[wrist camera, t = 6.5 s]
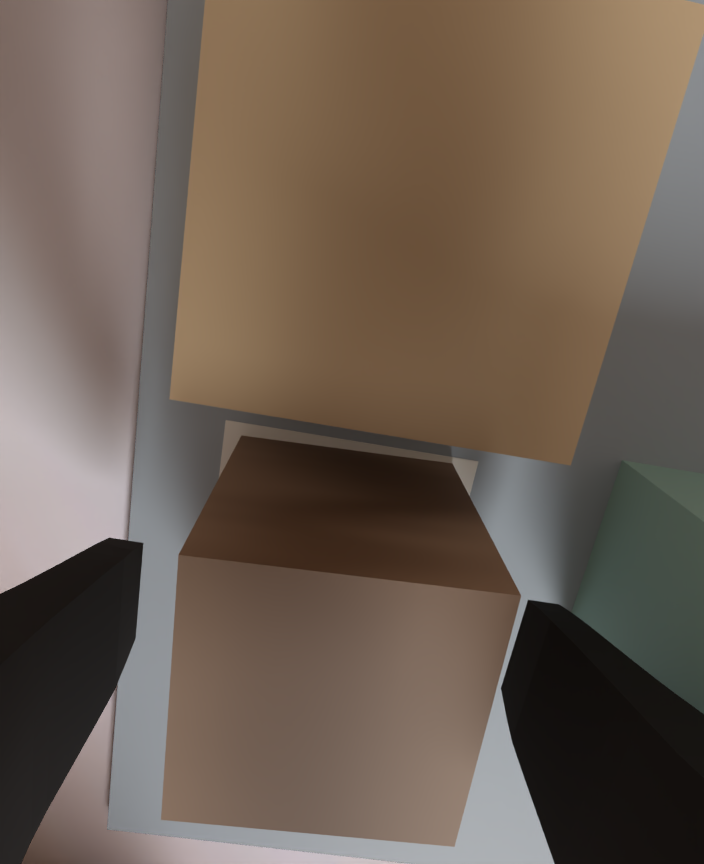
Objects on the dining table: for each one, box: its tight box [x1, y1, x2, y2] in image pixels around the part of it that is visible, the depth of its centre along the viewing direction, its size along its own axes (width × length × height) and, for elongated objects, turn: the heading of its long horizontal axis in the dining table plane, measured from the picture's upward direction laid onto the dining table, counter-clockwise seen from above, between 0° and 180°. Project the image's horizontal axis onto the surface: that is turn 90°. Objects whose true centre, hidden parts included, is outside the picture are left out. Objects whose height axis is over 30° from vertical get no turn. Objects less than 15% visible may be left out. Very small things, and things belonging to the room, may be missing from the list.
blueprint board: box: [107, 0, 704, 864], centre depth 13 cm, size 15×22×1 cm
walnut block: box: [161, 435, 521, 847], centre depth 11 cm, size 4×4×5 cm
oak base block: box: [169, 0, 704, 466], centre depth 9 cm, size 6×6×4 cm
